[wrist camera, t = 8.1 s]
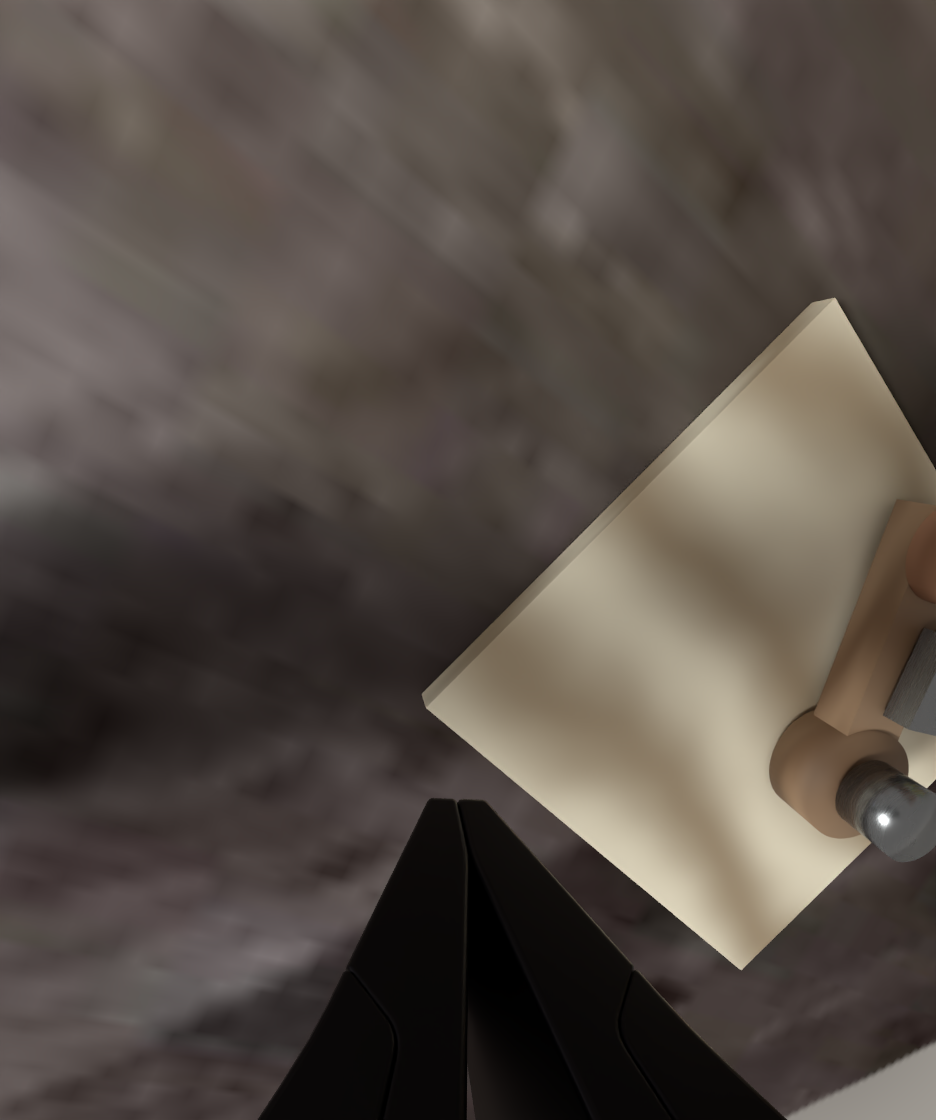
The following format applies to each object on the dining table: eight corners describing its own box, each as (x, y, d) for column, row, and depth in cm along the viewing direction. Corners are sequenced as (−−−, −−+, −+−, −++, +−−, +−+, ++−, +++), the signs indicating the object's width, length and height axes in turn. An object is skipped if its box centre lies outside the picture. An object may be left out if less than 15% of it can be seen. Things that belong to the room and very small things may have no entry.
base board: (726, 951, 28) (740, 970, 27) (421, 694, 21) (425, 707, 20) (1025, 657, 27) (1050, 666, 26) (811, 302, 21) (835, 297, 20)
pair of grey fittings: (879, 796, 26) (990, 875, 22) (773, 776, 24) (871, 857, 20) (957, 634, 25) (1092, 683, 20) (851, 601, 23) (974, 648, 19)
